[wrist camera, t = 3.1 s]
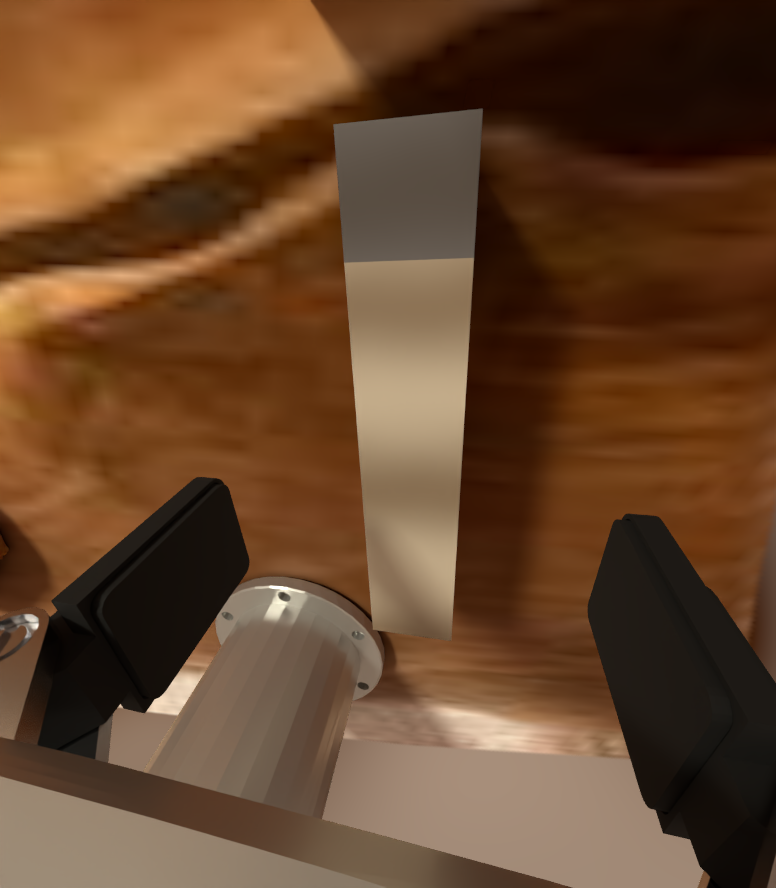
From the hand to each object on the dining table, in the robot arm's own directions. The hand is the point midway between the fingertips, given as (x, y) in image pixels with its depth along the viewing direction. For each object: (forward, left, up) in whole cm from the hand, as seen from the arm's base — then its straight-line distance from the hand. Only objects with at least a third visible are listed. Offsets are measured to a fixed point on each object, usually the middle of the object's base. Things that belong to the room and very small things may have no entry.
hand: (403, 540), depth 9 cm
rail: (0, 0, -10) cm, 10 cm away
